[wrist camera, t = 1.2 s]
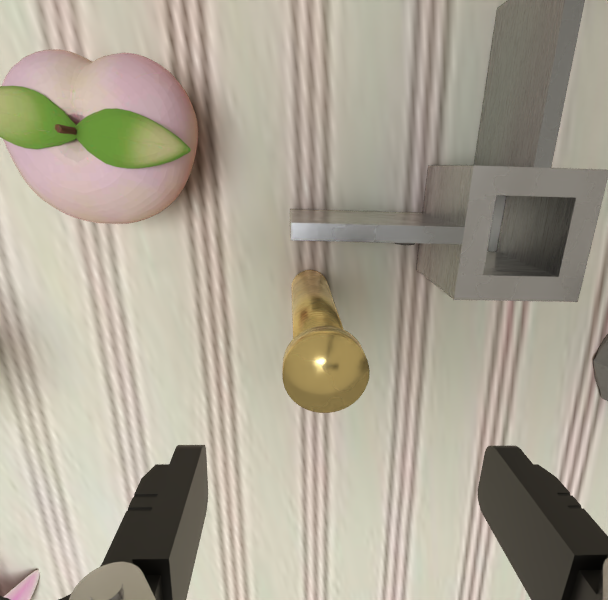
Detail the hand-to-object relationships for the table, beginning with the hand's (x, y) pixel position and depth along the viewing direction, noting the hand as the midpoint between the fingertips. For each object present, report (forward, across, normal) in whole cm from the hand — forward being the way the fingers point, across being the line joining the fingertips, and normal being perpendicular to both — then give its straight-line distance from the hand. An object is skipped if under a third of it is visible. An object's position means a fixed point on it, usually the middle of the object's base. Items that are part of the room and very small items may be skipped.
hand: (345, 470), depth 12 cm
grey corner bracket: (+19, -6, -10) cm, 22 cm away
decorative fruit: (+19, +11, -9) cm, 24 cm away
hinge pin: (+19, 0, 0) cm, 19 cm away
